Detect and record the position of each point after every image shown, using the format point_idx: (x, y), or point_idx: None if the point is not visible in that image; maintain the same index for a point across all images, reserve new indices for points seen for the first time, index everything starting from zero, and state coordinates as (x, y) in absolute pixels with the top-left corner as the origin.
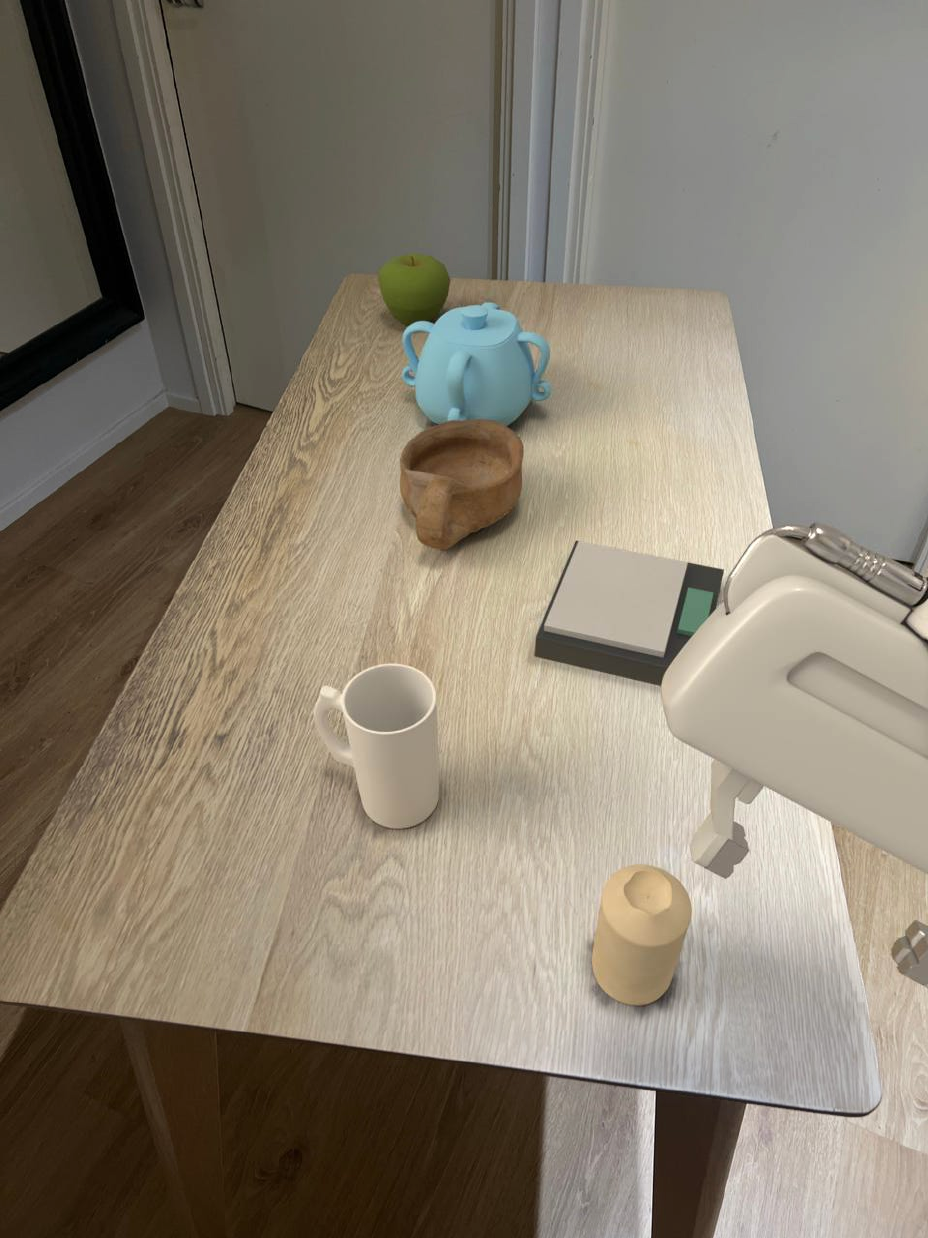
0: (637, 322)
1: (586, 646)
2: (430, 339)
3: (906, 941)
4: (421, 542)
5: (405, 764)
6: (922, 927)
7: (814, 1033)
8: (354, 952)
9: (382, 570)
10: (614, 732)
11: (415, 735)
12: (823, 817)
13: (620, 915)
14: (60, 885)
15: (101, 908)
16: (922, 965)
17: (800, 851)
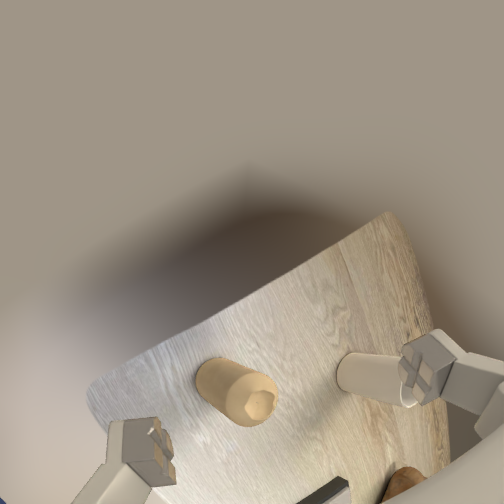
0: None
1: (327, 497)
2: None
3: (167, 456)
4: (403, 467)
5: (381, 370)
6: (165, 480)
7: (117, 408)
8: (325, 294)
9: (403, 446)
10: (288, 478)
11: (395, 380)
12: (472, 449)
13: (264, 381)
14: (405, 247)
15: (394, 248)
16: (144, 437)
17: (173, 492)
